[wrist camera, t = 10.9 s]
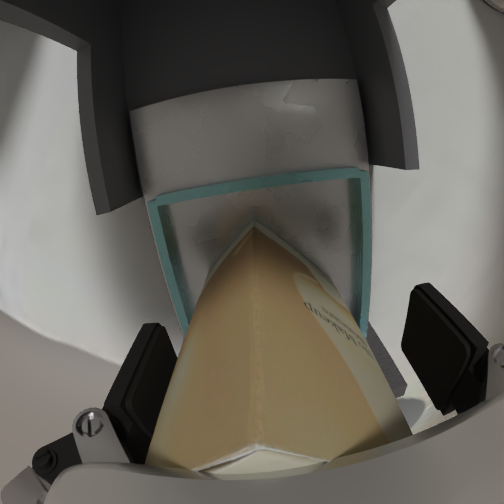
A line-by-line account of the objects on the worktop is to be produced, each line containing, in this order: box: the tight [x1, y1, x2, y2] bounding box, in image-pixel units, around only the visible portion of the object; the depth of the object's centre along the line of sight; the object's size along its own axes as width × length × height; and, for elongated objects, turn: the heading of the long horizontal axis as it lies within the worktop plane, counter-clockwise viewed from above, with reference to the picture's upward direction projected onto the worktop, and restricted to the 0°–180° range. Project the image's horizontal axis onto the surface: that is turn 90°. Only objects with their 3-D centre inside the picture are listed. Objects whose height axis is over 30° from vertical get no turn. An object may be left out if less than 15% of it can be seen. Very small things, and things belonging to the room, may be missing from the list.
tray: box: [130, 79, 407, 398], centre depth 13 cm, size 14×17×7 cm
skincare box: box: [144, 220, 413, 474], centre depth 9 cm, size 6×4×12 cm
